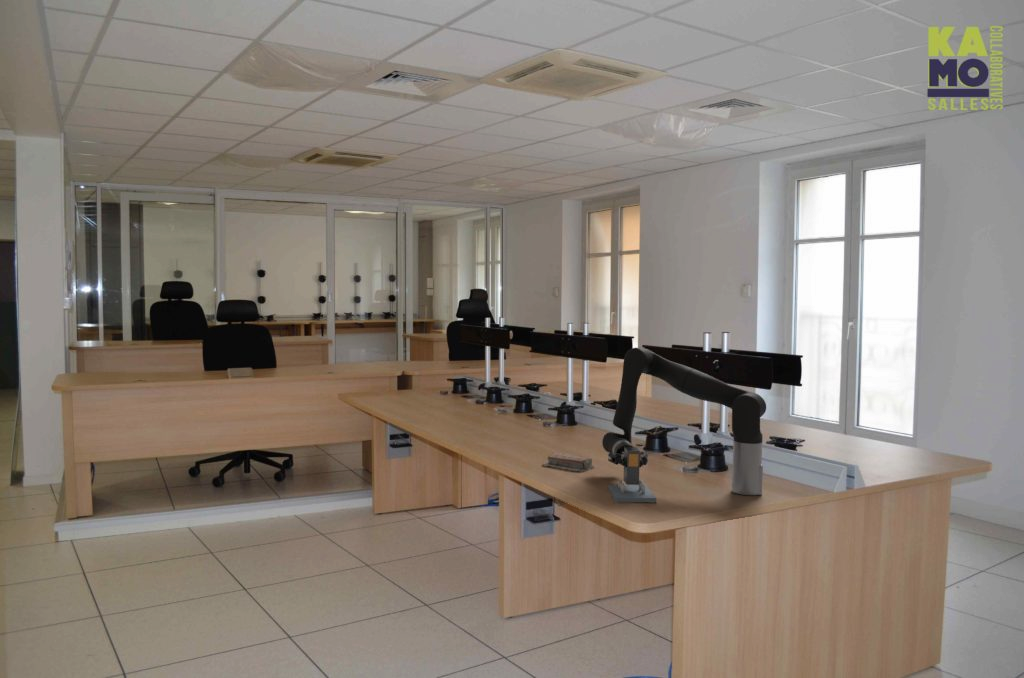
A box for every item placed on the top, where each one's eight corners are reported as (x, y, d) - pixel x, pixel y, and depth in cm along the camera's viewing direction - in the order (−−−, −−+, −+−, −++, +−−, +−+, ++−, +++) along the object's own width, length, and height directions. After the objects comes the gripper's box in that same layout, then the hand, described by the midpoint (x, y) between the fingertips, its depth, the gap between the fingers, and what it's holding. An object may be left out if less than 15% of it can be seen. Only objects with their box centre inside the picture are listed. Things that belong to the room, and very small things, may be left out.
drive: (635, 480, 249) (636, 447, 248) (638, 484, 243) (640, 451, 242) (623, 479, 248) (624, 446, 248) (626, 484, 242) (627, 450, 242)
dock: (646, 489, 254) (646, 476, 253) (656, 502, 238) (656, 488, 237) (607, 489, 253) (608, 476, 253) (615, 502, 237) (615, 488, 237)
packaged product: (595, 456, 286) (582, 460, 278) (595, 469, 286) (582, 473, 278) (555, 450, 296) (541, 454, 288) (554, 462, 297) (541, 466, 289)
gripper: (604, 441, 259) (611, 452, 242) (645, 442, 259) (655, 453, 242) (603, 463, 259) (610, 475, 242) (644, 463, 260) (655, 476, 243)
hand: (633, 464), depth 242 cm, fingers closed on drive, 4 cm apart
